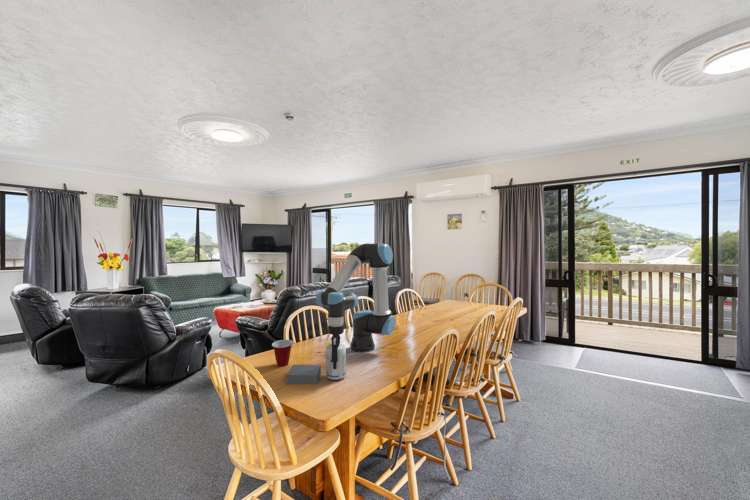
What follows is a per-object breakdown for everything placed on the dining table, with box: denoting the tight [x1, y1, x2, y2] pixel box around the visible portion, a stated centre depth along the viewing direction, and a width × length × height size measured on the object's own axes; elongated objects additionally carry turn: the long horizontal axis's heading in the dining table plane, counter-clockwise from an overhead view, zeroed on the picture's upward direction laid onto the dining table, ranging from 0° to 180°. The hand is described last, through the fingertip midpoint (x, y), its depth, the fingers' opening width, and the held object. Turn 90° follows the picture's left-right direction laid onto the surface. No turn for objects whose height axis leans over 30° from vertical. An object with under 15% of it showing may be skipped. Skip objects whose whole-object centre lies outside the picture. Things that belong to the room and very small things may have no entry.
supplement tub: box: [325, 343, 347, 381], centre depth 165 cm, size 10×10×15 cm
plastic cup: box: [271, 339, 294, 367], centre depth 183 cm, size 11×11×12 cm
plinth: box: [285, 364, 322, 385], centre depth 165 cm, size 14×14×4 cm
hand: (336, 371), depth 166 cm, fingers closed on supplement tub, 9 cm apart
